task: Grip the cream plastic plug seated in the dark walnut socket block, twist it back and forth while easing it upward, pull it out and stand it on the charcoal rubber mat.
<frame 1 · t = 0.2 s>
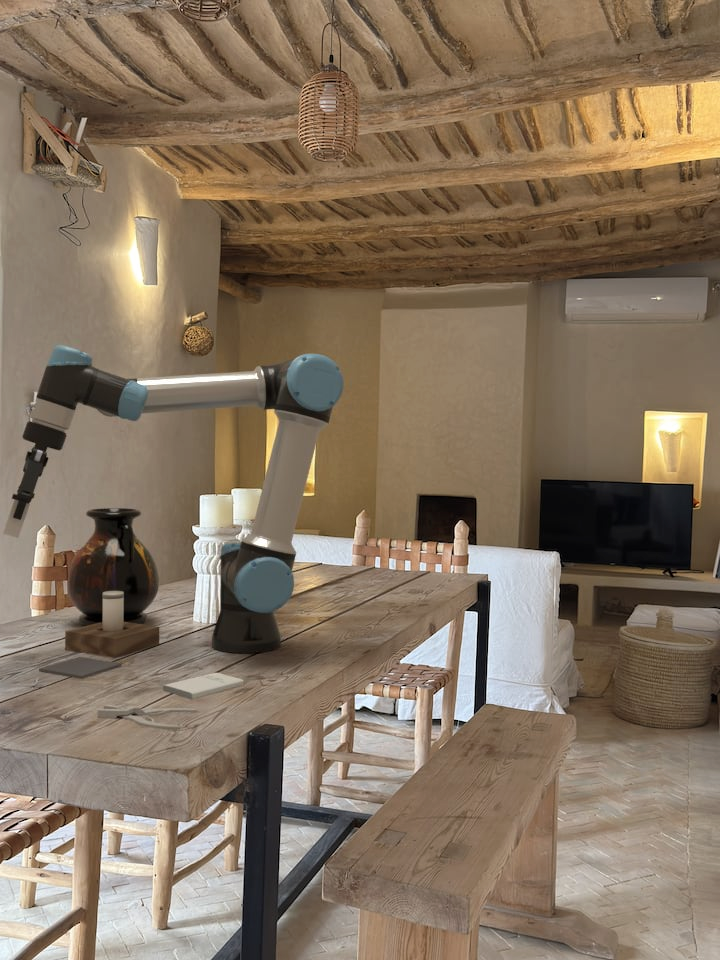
hand: (11, 531, 172), 28 cm above the table, tool tilted 20°, fingers open, 13 cm apart
plug: (113, 619, 197), in the socket block
amphora vase: (113, 625, 220), on the table
external hard drive: (203, 691, 167), on the table
socket block: (112, 647, 197), on the table
pliers: (144, 720, 149), on the table
mat: (80, 668, 179), on the table
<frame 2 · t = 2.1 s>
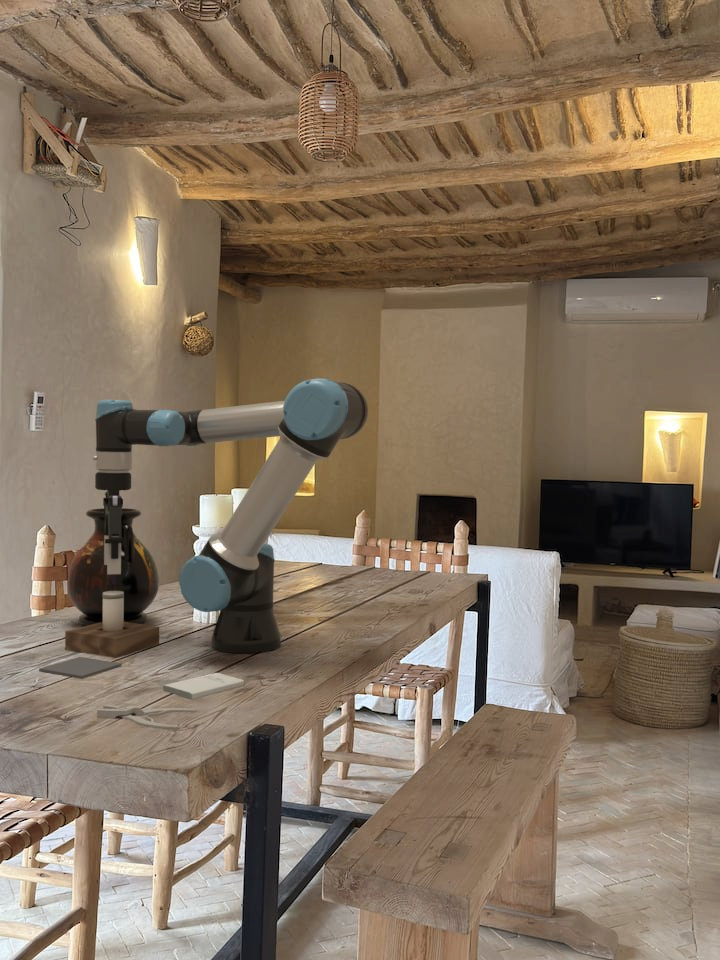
hand: (112, 569, 196), 17 cm above the table, tool pointing down, fingers open, 13 cm apart
nothing on the table moved.
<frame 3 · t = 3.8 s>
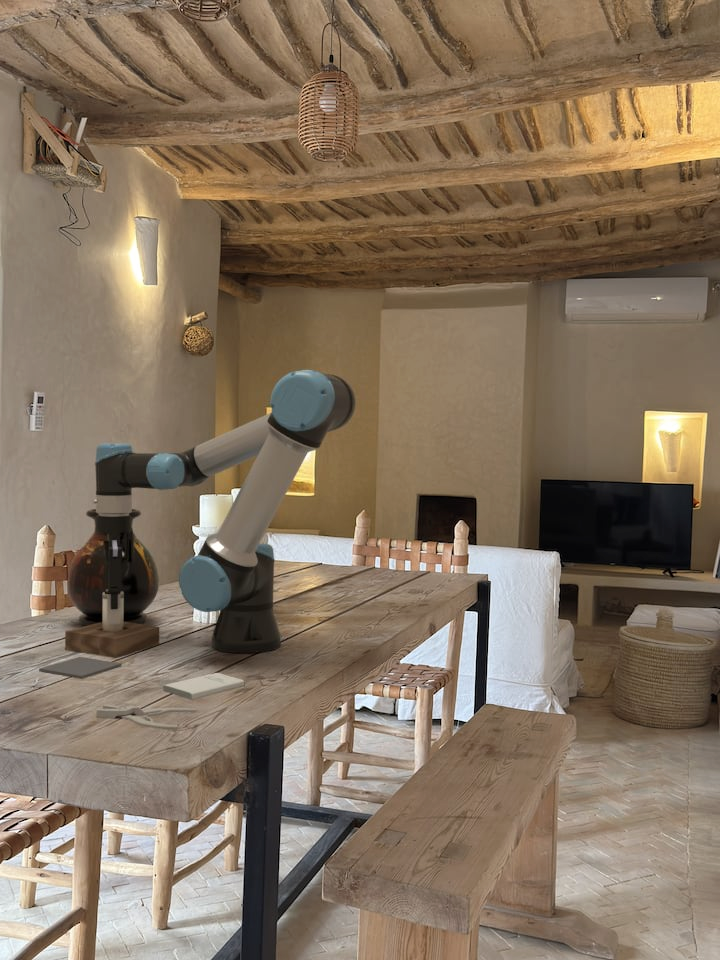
hand: (113, 621, 197), 6 cm above the table, tool pointing down, fingers closed on plug, 4 cm apart
plug: (113, 619, 197), in the socket block, touching gripper
everything else where it was.
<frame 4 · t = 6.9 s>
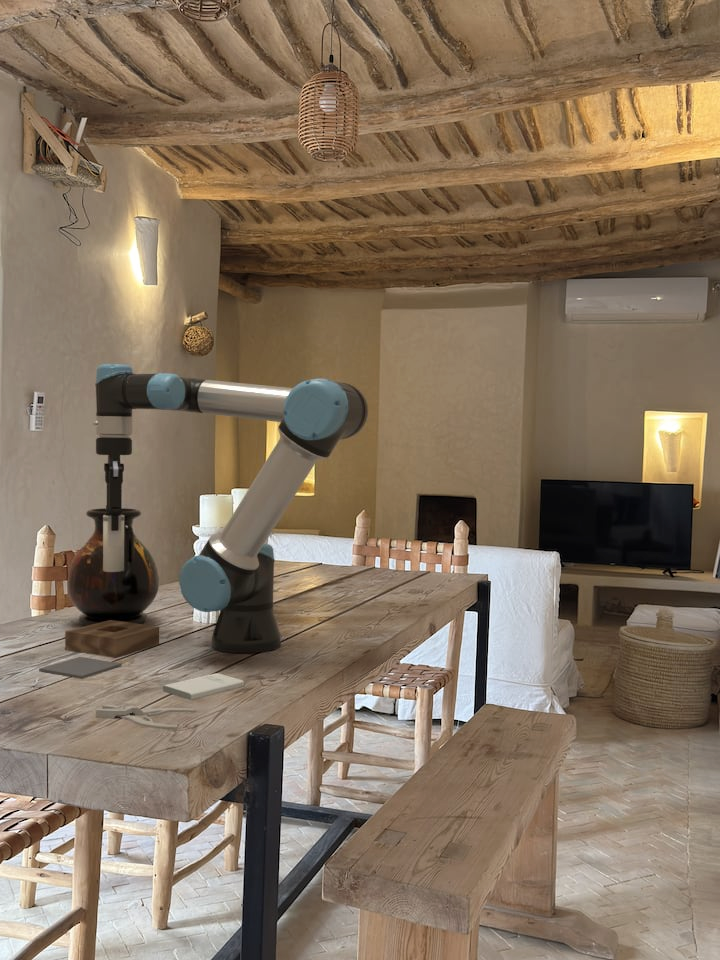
hand: (113, 544, 196), 23 cm above the table, tool pointing down, fingers closed on plug, 4 cm apart
plug: (113, 542, 196), point 23 cm above the table, touching gripper
everything else where it was.
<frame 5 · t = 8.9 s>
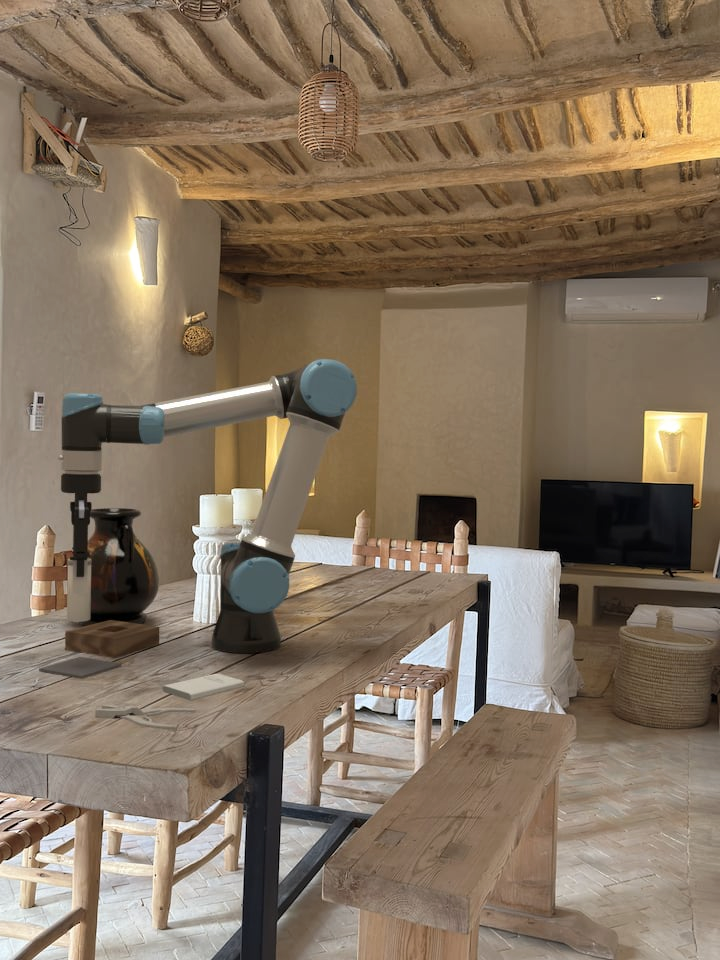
hand: (79, 590, 178), 15 cm above the table, tool pointing down, fingers closed on plug, 4 cm apart
plug: (79, 589, 178), point 16 cm above the table, touching gripper
everything else where it was.
when the fingers open (8 cm above the table, at t = 10.3 s): plug drops 1 cm, resting on mat.
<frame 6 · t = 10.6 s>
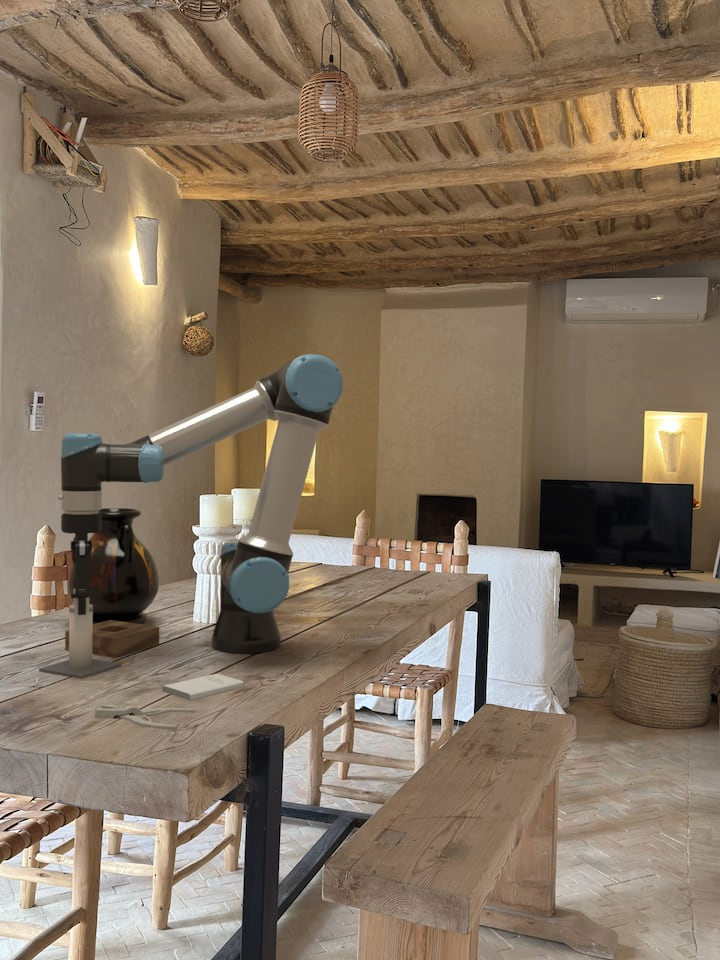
hand: (81, 625, 178), 9 cm above the table, tool pointing down, fingers open, 9 cm apart
plug: (80, 635, 179), on the mat
everything else where it was.
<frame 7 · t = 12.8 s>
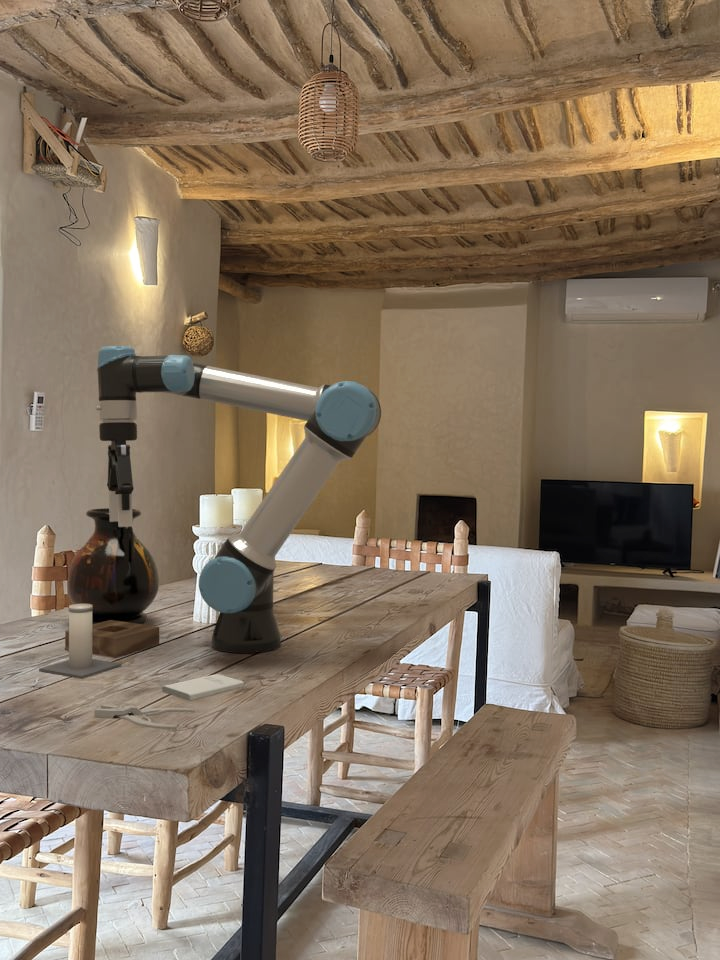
hand: (120, 524, 189), 28 cm above the table, tool pointing down, fingers open, 13 cm apart
nothing on the table moved.
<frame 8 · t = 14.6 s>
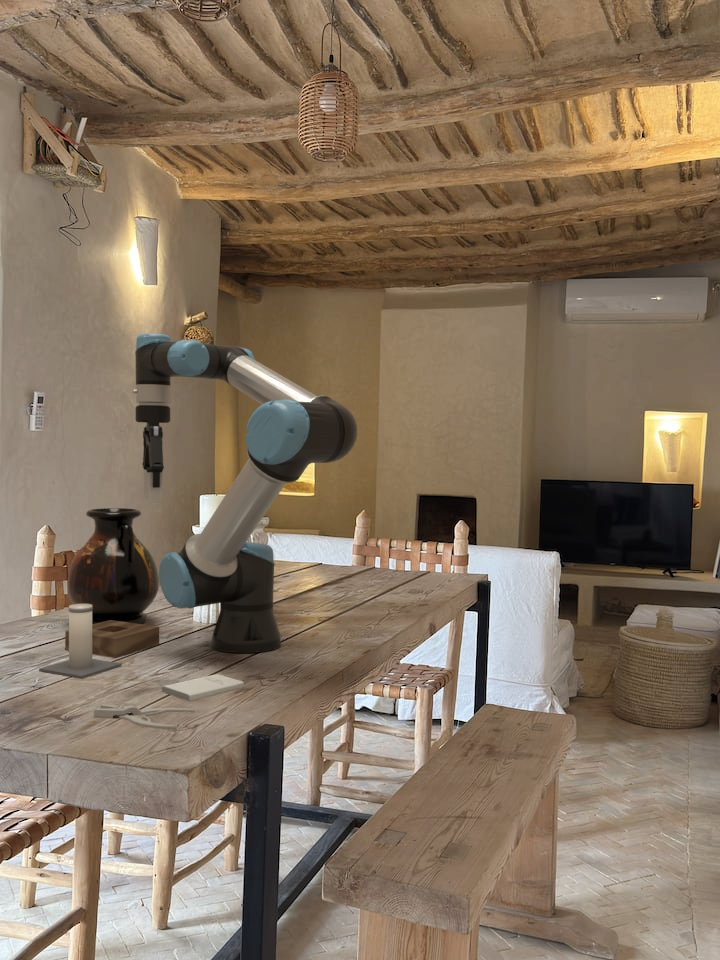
hand: (152, 500, 201), 32 cm above the table, tool pointing down, fingers open, 13 cm apart
at the end: plug inside the target area on the mat (0.0 cm from its centre), point 6.5 cm above the mat's base; plug tilted 0°; the gripper is holding nothing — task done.
